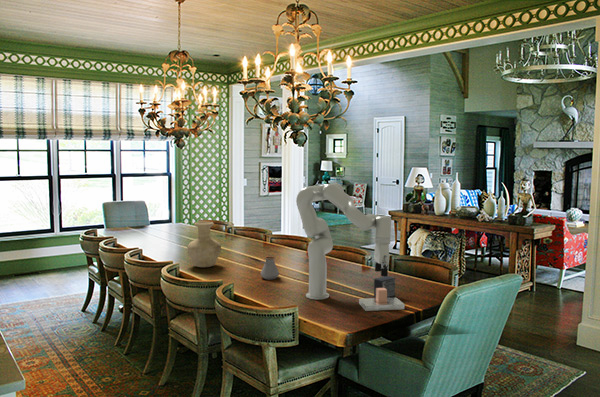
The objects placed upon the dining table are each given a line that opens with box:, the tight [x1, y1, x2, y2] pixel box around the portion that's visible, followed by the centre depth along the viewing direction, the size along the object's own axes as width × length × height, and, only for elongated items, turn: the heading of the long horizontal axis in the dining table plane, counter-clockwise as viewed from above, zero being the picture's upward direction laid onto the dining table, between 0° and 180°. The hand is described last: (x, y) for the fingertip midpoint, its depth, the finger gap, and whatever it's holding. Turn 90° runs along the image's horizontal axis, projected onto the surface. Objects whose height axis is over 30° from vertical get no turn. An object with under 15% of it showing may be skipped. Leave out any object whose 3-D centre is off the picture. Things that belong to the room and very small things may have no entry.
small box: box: [373, 275, 396, 298], centre depth 266 cm, size 11×6×10 cm, turn 129°
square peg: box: [376, 288, 387, 304], centre depth 249 cm, size 4×4×9 cm
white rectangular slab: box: [358, 296, 405, 312], centre depth 249 cm, size 12×20×2 cm, turn 99°
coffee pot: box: [248, 256, 280, 281], centre depth 300 cm, size 21×12×15 cm, turn 131°
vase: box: [186, 221, 222, 268], centre depth 332 cm, size 22×22×30 cm
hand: (381, 273), depth 248 cm, fingers open, 9 cm apart
